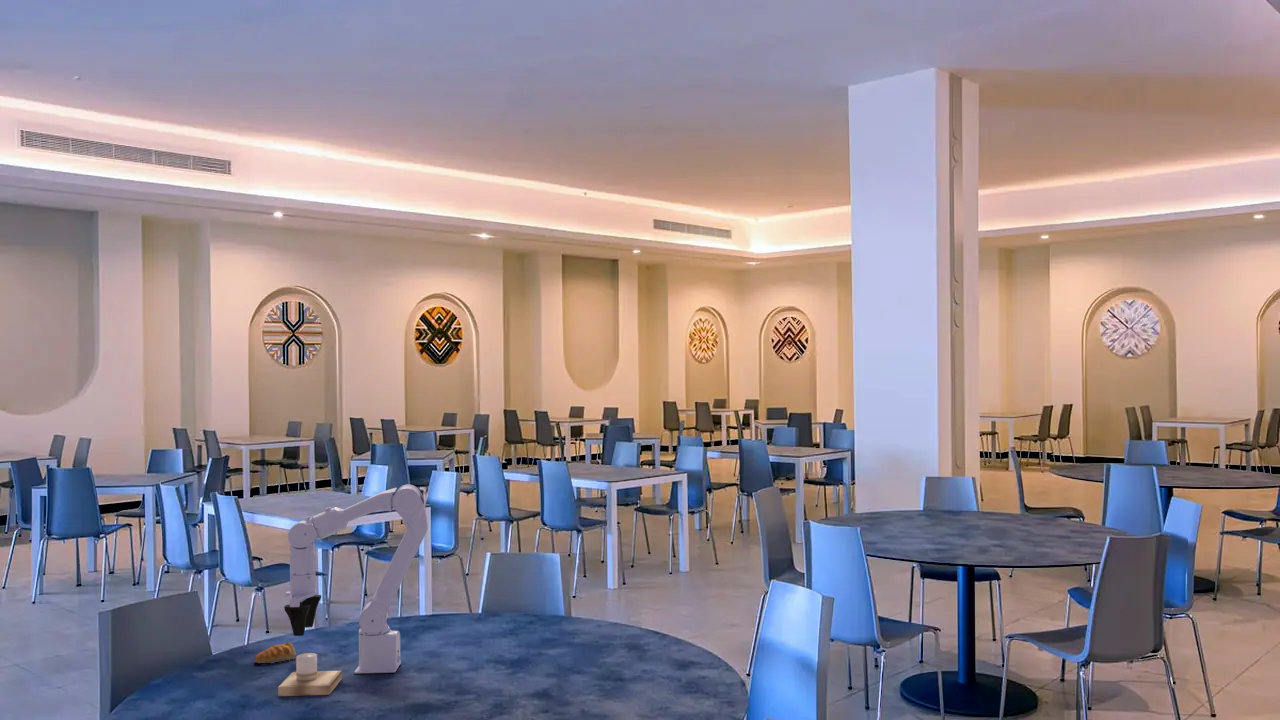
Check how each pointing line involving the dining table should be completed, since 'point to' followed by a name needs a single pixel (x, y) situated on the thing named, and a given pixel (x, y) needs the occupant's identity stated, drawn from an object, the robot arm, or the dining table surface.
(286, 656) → the pastry
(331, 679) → the base board
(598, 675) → the dining table surface
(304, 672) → the pot
